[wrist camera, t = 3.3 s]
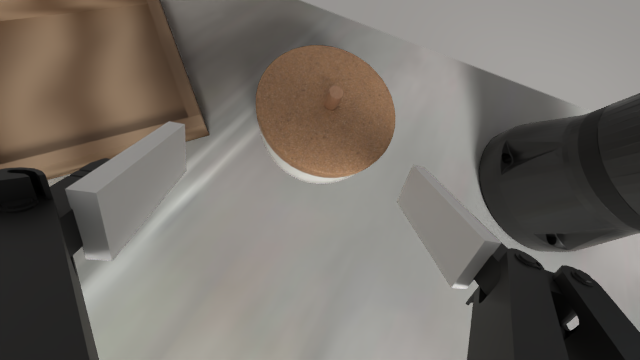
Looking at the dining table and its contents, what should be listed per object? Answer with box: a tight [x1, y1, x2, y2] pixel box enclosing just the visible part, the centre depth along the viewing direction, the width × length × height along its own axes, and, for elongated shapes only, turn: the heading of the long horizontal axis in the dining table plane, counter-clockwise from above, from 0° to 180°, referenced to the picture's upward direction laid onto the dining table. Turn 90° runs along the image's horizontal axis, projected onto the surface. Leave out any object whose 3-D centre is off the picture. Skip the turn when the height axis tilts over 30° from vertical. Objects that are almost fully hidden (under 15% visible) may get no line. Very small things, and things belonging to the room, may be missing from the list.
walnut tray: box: [0, 0, 209, 180], centre depth 21 cm, size 16×16×2 cm
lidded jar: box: [256, 45, 395, 184], centre depth 21 cm, size 11×11×9 cm
